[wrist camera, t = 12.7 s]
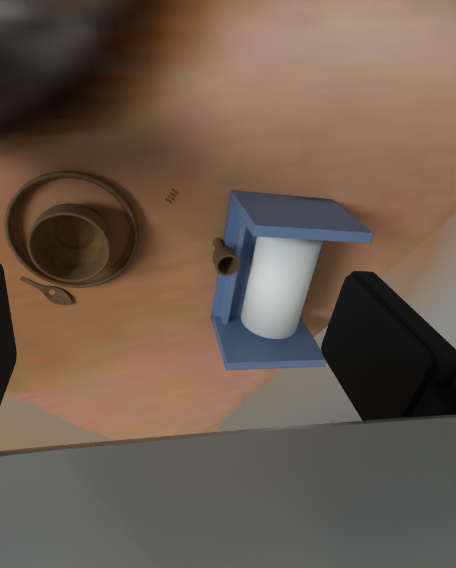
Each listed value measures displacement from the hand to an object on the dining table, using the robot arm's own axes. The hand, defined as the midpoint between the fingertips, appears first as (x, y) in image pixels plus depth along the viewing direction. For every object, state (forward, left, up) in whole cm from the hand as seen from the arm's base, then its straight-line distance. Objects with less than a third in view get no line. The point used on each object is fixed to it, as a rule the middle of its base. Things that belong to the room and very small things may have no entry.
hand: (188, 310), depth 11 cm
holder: (+13, +14, -28) cm, 34 cm away
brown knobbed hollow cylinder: (+12, -3, -29) cm, 32 cm away
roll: (+13, +14, -27) cm, 33 cm away
